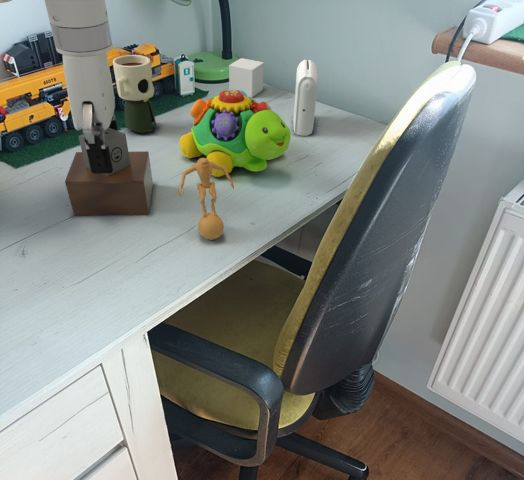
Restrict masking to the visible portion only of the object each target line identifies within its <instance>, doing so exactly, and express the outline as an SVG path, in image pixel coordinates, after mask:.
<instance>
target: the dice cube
mask: <svg viewBox="0 0 524 480" xmlns="http://www.w3.org/2000/svg"><path fill="white" fill-rule="evenodd" d="M95 135H98V137H99V138H100V132H95ZM77 137H78V141H79V145H80V149H81V152H82V154H83V158H84V162H85V167H86V168H89V169H91V168H90V164H89V159H88V155H87V150H86V146H85V141H84V140H85V139H84V137H85V136H84V134H83V133H82V134H80V135H78V136H77ZM105 137H106V147H108V146H109V152H110V157H111V162H112V167H113V172H112V173H105V174H104V175H106V176H109V175H111V174H113V173H115V172H117V171H119V170H121V169H122V168H124V167H126V166H128V165H130V158H129V152H130V151H129V147H128V141H127V135H126V132H122V131H120V130H118V131H117V130H114V129H111V128H107V129H106V130H105Z"/></svg>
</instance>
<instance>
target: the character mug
mask: <svg viewBox="0 0 524 480" xmlns="http://www.w3.org/2000/svg"><path fill="white" fill-rule="evenodd" d="M112 65H113V66H112V67H113V71H114V78H115V83H116V91H117V95H118V97H119V98H120V99H122V100H124V104H123V105H124V126H125V128H126V129H127V130H130V131H132V132H136V133H147V132H151V131H154V128H156V129H157V122H156V117H155V112H154V109H153V106H152V105H153V104H152V102H151V98H153V97H154V95H155V87H154V84H153V79H152V78H153V70H152V63H151V59H150V58H149V57H147V56H145V55H140V54H125V55H120V56H117V57H115V58H113V60H112Z"/></svg>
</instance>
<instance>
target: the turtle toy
mask: <svg viewBox="0 0 524 480" xmlns="http://www.w3.org/2000/svg"><path fill="white" fill-rule="evenodd" d="M189 113H190V115H191V116H192V117H193V119H194V121H193V125H192V127H191V128H190V130H191V131H190V132H188V133H186V134H184V135H182V136H181V137H180V139H179V143H178V146H179V151H180V152H181V154H182V155H183V156H184V157H185V158H187V159H195V158H200V157H201V156H203V155H204V156H205V157H206V159H207V160H208V161H210V162H213V163H215V164H217V165H220V166H223V167H224V168H225V169H226V171H227V173H228V174H230V173H232V171H233V168H234V167H235V168H236V167H239V168H243V169H245V170H247V171H249V172H255V173H256V172H262V171H263V170H266V169H267V168H268V163H267V161H270V160H274V159H276V158H279V157H280V156H283V155H284V154H285V153H286V151H287V150H288V148H289V146H290V142H291V129H290V128H289V126H288V124H287V123H286V122H285V121H284V120H283V119H282V117H280V115H279V114H278V113H277V112H275V111H273V110H272V108H271V106H270V105H269V104H268V102H266V101H261V102H257V101H256V100H255V99H253V98H251V97H247V95H246V93H245V92H244V91H241V90H231V91H229V89H228V90H227V89H226V90H222V91H221V92H219V93H218V95H216V96H213V97H211V98H210V99H207V100H206V101H205V100H204V99H201V98H199V99H197V100H196V101H195V102H194V104H193V106H191V109H190V111H189ZM211 176H212V177H214V178H220V177H223V176H226V175H225V174H224V172H223V170H218V169H215V168H213V169H212V174H211Z"/></svg>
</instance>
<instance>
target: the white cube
mask: <svg viewBox="0 0 524 480" xmlns="http://www.w3.org/2000/svg"><path fill="white" fill-rule="evenodd" d="M264 69H265V62H264V61H258V60H253V59H249V58H243V57H240V58H239V59H237V60H235V61H234V62H232V63H230V64H229V65H228V84H229V85H228V86H229V89H228V90H229V91H231V90H241V91H244V92H245V93H246V95H247V97H248V98H251V99H253V98H254V97H256V96H257V95H258V94H259V93H261V92H262V91H263V90H264V74H265V73H264V72H265V71H264Z"/></svg>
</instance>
